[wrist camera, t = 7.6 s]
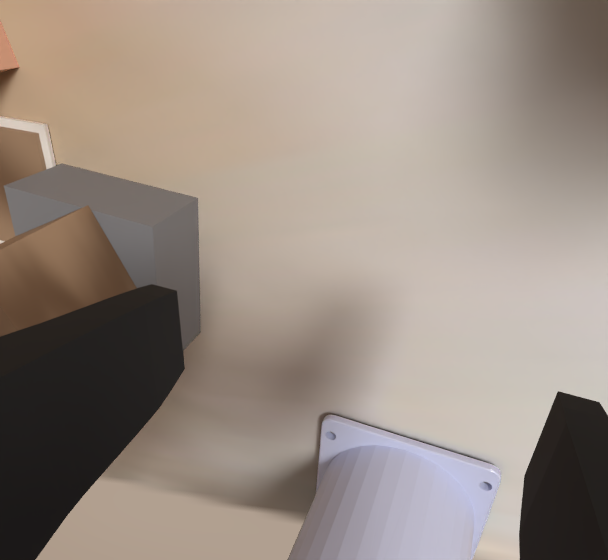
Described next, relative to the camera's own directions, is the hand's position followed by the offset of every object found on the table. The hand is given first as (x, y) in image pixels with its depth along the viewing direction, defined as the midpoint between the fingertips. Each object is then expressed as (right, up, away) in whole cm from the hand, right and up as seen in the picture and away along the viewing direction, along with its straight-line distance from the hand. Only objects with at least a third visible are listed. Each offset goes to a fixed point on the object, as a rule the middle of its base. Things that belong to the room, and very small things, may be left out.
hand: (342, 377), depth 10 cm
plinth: (-8, +3, +15) cm, 17 cm away
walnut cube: (-10, +2, +12) cm, 15 cm away
